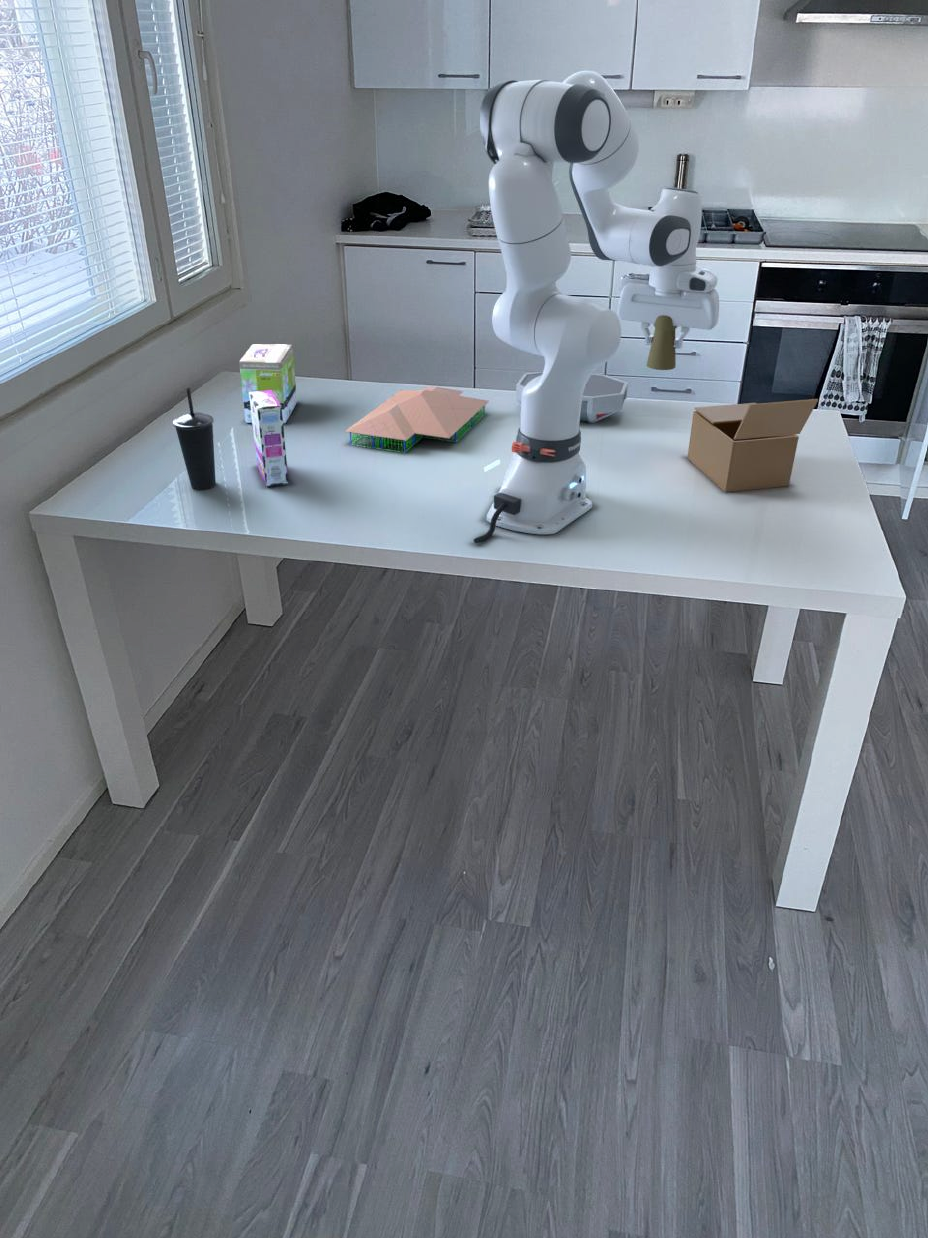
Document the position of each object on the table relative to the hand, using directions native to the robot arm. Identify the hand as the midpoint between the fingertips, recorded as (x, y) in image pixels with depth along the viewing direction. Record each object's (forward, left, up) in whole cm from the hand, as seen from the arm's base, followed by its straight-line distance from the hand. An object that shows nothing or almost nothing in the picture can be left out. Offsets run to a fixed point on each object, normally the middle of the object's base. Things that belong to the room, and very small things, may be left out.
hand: (663, 345), depth 193 cm
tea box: (-16, +89, -23) cm, 93 cm away
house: (-9, +52, -23) cm, 57 cm away
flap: (-13, -26, -7) cm, 30 cm away
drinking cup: (-57, +77, -23) cm, 99 cm away
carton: (-4, -19, -23) cm, 30 cm away
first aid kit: (+14, +24, -23) cm, 35 cm away
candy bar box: (-47, +67, -23) cm, 85 cm away
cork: (0, 0, -4) cm, 4 cm away
